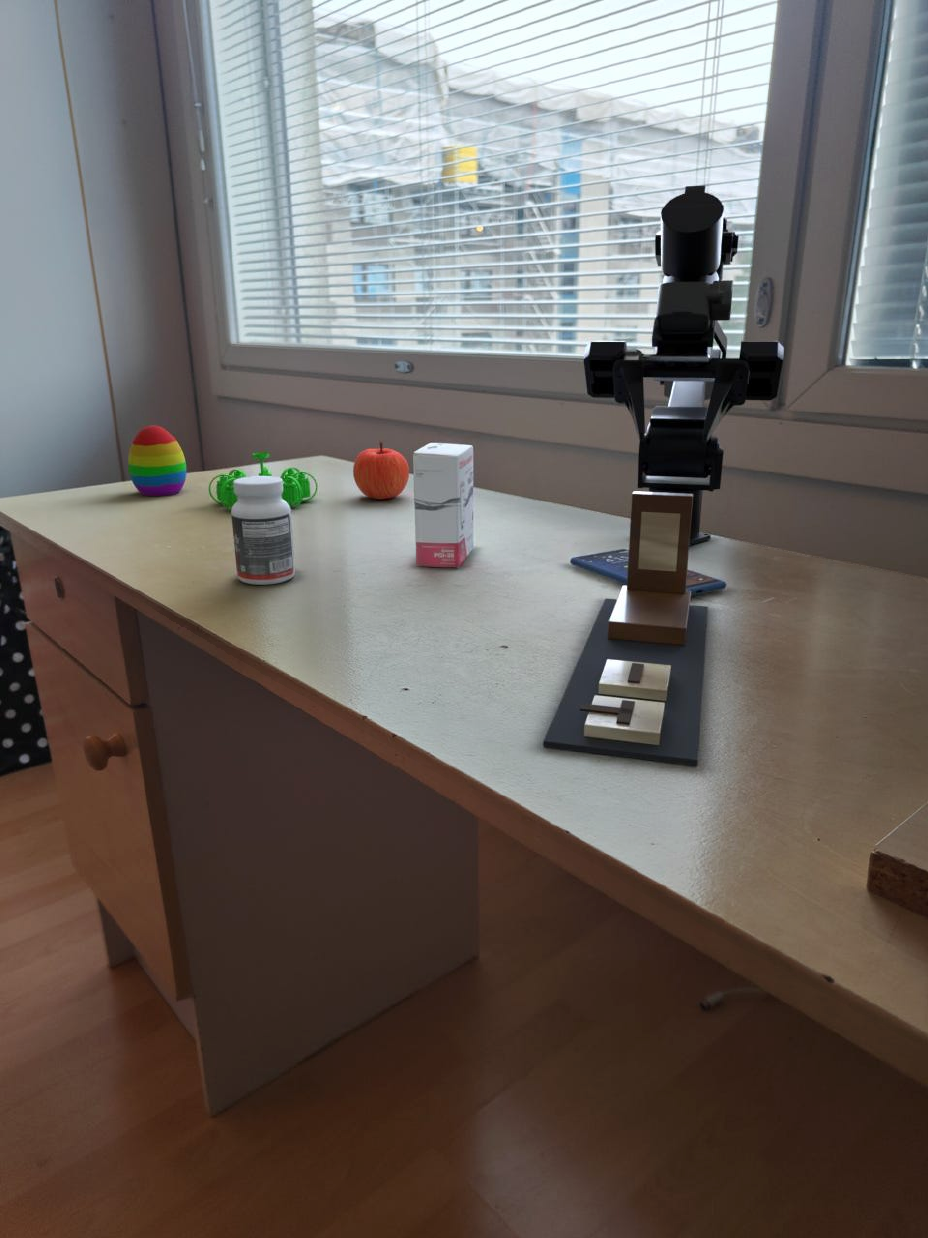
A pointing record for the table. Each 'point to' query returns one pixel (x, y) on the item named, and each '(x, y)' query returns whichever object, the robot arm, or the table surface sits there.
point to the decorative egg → (156, 462)
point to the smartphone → (617, 569)
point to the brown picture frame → (655, 571)
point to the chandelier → (293, 484)
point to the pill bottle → (262, 531)
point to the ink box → (443, 504)
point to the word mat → (634, 696)
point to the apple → (380, 473)
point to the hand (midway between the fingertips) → (672, 438)
